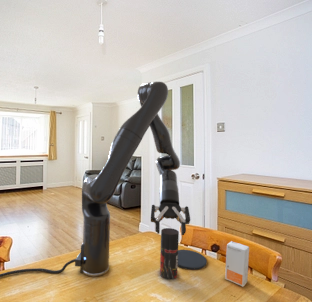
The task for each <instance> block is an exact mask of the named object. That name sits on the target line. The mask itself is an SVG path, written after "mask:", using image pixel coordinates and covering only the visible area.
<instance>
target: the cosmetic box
mask: <svg viewBox="0 0 312 302" xmlns="http://www.w3.org/2000/svg"><path fill="white" fill-rule="evenodd" d="M249 257H250V246H248V245H245V244H242V243H240V242H239V243H238V242H235V241H232V240H231V241H229V242H228V243H227V244H226V253H225V275H224V279H225V280H226V281H228V282H231V283H234V284H235V285H238V286H240V287H243V288H244V287H245V285H246V284H247V283H248V280H249V279H248V278H249V277H248V275H249V259H250V258H249Z"/></svg>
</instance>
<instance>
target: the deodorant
mask: <svg viewBox="0 0 312 302" xmlns="http://www.w3.org/2000/svg"><path fill="white" fill-rule="evenodd" d="M179 233H180V232H179V230H177V229H175V228H171V227H164V228H162V229H161V231H160V260H159V276H160V277H161V278H163V279H165V280H174V279H177V277H178V268H179V267H178V250H179V241H180V240H179V239H180V237H179V235H180V234H179Z"/></svg>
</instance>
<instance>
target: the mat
mask: <svg viewBox="0 0 312 302" xmlns="http://www.w3.org/2000/svg"><path fill="white" fill-rule="evenodd" d="M207 260H208V259H207V258H206V257H205V255H204V254H201V253H200V252H197V251H195V250H189V249H178V268H181V269H184V270H189V271H196V270H197V271H198V270H201V269H204V268H205V267H206V266H207V264H208V261H207Z"/></svg>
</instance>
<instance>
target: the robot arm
mask: <svg viewBox="0 0 312 302" xmlns="http://www.w3.org/2000/svg"><path fill="white" fill-rule="evenodd" d="M168 96H169V87H168V85H167V84H166V83H165V82H163V81H150V82H144V83H142V84H141V85H139V87H138V89H137V99H138V102H139V105H140V108H139V109H138V110H137V111H136V112H135V113H133V114H132V115H131V116H130V117H129V118H127V119H126V120H125V121H124V122H123V123H122V124H121V126H120V127H119V129H118V131H117V132H116V134H115V135H114V138H113V139H112V142H111V146H110V150H109V155H108V158H107V161H106V163H105V165H104V166H103V168H102V170H101V171H100V172H99V174H91V175H88V176H87V177H86V178H85V179H84V181H83V183H82V186H81V212H82V215H83V216H82V217H83V220H82V221H83V224H82V225H83V227H82V243H81V245H80V252H79V254H78V255H77V257H76V258H73V259H71V260H69V261H67V262H66V263H64V265H63V266H62V268H61V269H58V270H53V269H47V268H41V267H38V268H24V269H23V268H22V269H15V270H10V271H6V272H3V273H0V278H3V277H6V276H10V275H15V274H20V273H34V272H43V273H47V274H52V275H53V274H56V275H57V274H61V273H62V272H64V271H65V270H66V268H67V267H68V266H69V265H71V264H73V263H74V267H78V268H79V269H80V270H79V273H80V274H83V275H85V276H87V277H101V276H103V275H105V274H107V273H108V272H109V270H110V241H111V240H110V238H111V237H110V233H111V213H110V210H109V208H108V205H107V203H108V202H109V201H110V200H111V199H112V198H113V197H114V195H115V193H116V191H117V189H118V186H119V183H120V181H121V179H122V177H123V174H124V172H125V170H126V168H127V167H128V165H129V163H130V161H131V160H132V158H133V156H134V155H135V153H136V151H137V149H138V148H139V146H140V144H141V143H142V141H143V138H144V136H145V134H146V133H147V131H148V129H149V128H150V131H151V134H152V137H153V142H154V145H155V149H156V152H157V153H159V154H164V155H160V156H158V157H157V158H156V160H155V164H156V168H157V170H158V174H159V205H157V206H156V205H155V204H151V212H150V223H154V224H155V227H154V229H155V233H157V235H159V234H160V233H161V231H160V229H161V227H160V222H161V221H163V219H164V218H165V219H167V220H168V219H171V220H174V219H175V220H176V221H177V222H179V224H180V233H181V234H180V235H181V236H184V235H186V232H187V227H186V225H189V224H190V222H191V215H190V209H189V206H187V205H186V206H185V207H181V206H180V205H181V204H180V193H179V186H178V176H177V173H176V172H175V170H176V171H177V170H178V169H179V168H180V166H181V160H180V158H179V157H178V155H177V152H176V151H175V149H174V147H173V144H172V143H173V142H172V139H171V134H170V132H169V129H168V127H167V126H166V124H165V123H164V121H163V120H162V118H161V116H160V115H159V112H160V111H161V109H162V108H163V107H164V105H165V103H166V101H167V100H168ZM157 211H158V212H159V214H158V216H157V217H156V216H155V213H157ZM181 212H182V213H183V215H184V217H183V215H182V213H181Z"/></svg>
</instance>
